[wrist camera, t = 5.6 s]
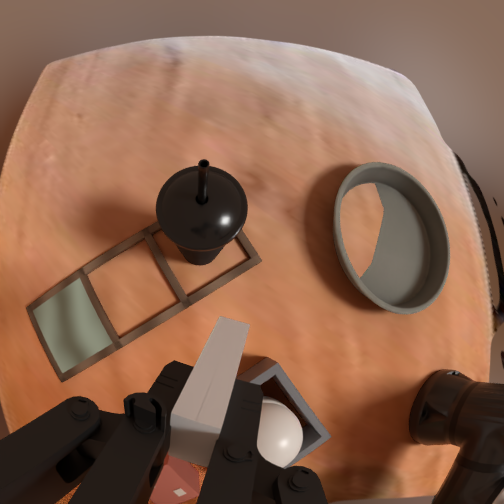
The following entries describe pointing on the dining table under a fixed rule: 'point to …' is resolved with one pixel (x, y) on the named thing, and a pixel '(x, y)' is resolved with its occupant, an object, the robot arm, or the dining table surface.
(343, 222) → the dining table surface
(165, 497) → the die
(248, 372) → the grey square tray
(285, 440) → the white ball
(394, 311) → the cake pan
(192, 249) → the drinking cup
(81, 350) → the board
